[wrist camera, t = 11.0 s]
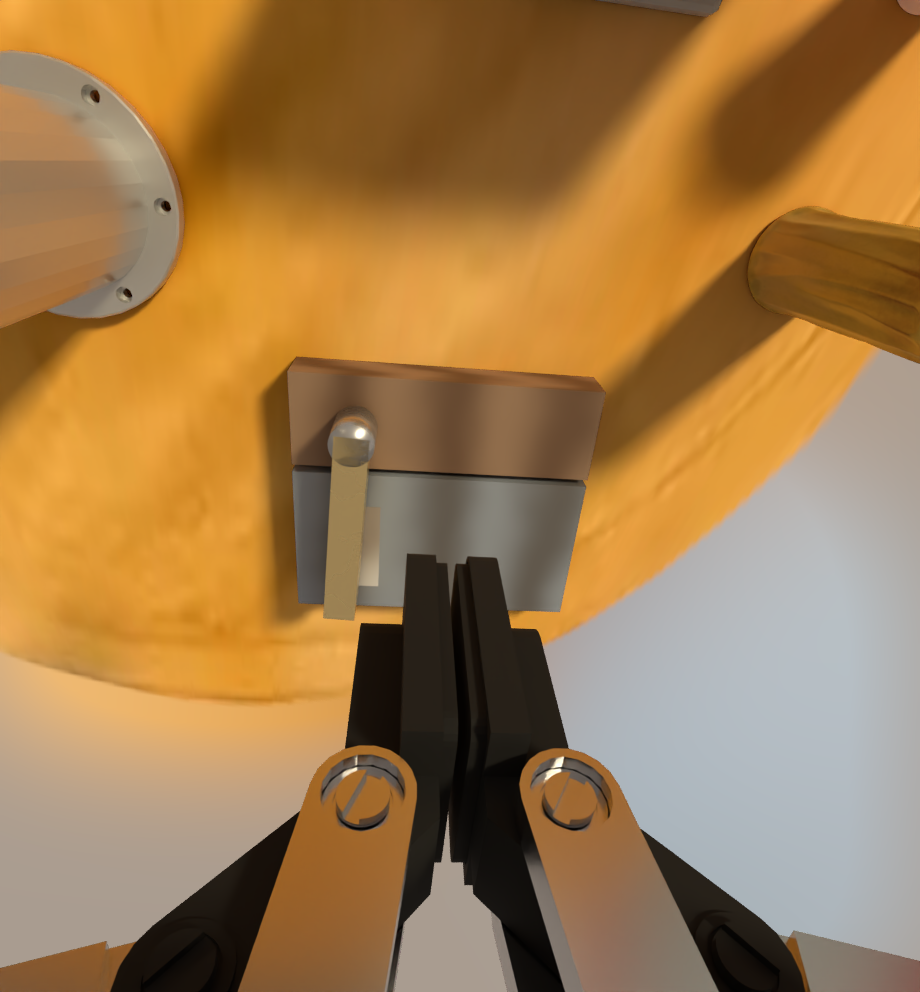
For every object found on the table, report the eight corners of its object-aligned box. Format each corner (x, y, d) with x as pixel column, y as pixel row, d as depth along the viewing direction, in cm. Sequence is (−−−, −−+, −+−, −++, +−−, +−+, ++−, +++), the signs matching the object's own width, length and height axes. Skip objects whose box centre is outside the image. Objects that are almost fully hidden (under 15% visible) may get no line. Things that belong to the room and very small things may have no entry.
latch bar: (335, 403, 36) (328, 422, 33) (379, 408, 36) (376, 427, 34) (325, 589, 42) (318, 617, 40) (362, 592, 43) (358, 620, 40)
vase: (812, 324, 39) (997, 401, 26) (727, 298, 38) (879, 365, 25) (867, 223, 36) (1102, 256, 24) (777, 192, 35) (975, 209, 23)
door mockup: (305, 578, 46) (298, 603, 43) (296, 356, 38) (287, 371, 35) (552, 587, 48) (559, 612, 45) (593, 377, 40) (606, 392, 37)
